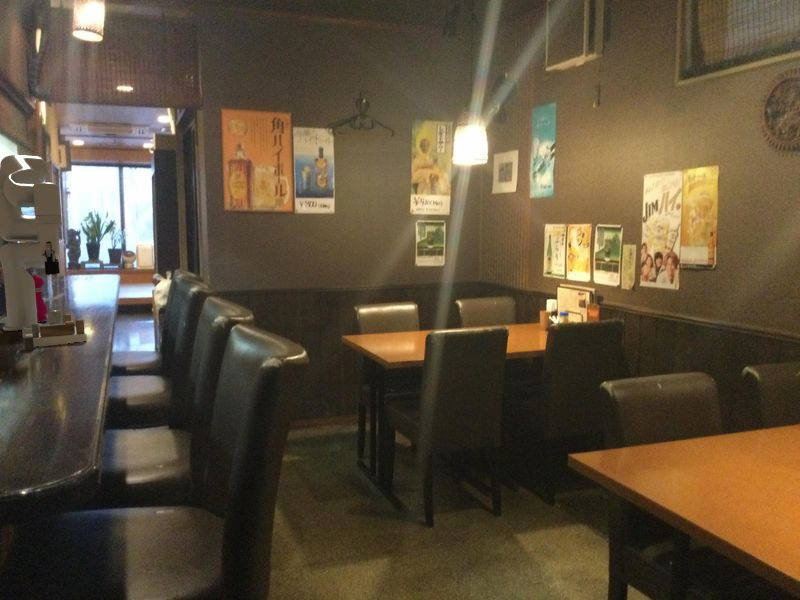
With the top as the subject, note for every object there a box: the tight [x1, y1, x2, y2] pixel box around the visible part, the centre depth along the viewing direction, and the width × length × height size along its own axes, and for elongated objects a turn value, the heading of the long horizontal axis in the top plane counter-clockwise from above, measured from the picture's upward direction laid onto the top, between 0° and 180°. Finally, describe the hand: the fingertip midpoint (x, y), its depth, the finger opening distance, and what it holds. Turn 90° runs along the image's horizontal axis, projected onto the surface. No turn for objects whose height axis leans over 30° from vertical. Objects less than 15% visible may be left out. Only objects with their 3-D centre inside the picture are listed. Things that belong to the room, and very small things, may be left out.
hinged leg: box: [40, 320, 76, 337], centre depth 205 cm, size 2×10×4 cm, turn 125°
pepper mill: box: [31, 271, 48, 321], centre depth 253 cm, size 7×7×20 cm
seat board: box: [21, 314, 87, 352], centre depth 208 cm, size 28×18×7 cm, turn 36°
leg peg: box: [47, 309, 63, 325], centre depth 224 cm, size 4×4×8 cm
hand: (52, 274), depth 209 cm, fingers open, 9 cm apart
